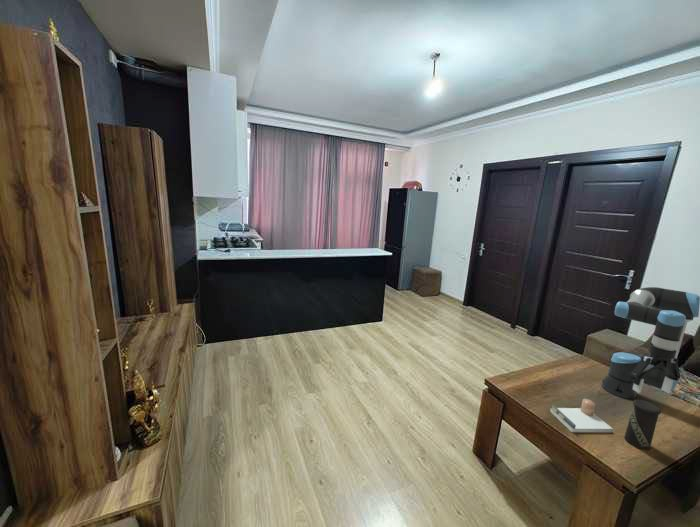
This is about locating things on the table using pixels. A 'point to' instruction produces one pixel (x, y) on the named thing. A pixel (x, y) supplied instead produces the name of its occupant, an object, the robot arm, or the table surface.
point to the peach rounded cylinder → (588, 407)
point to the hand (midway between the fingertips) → (650, 391)
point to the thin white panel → (579, 420)
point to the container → (642, 424)
